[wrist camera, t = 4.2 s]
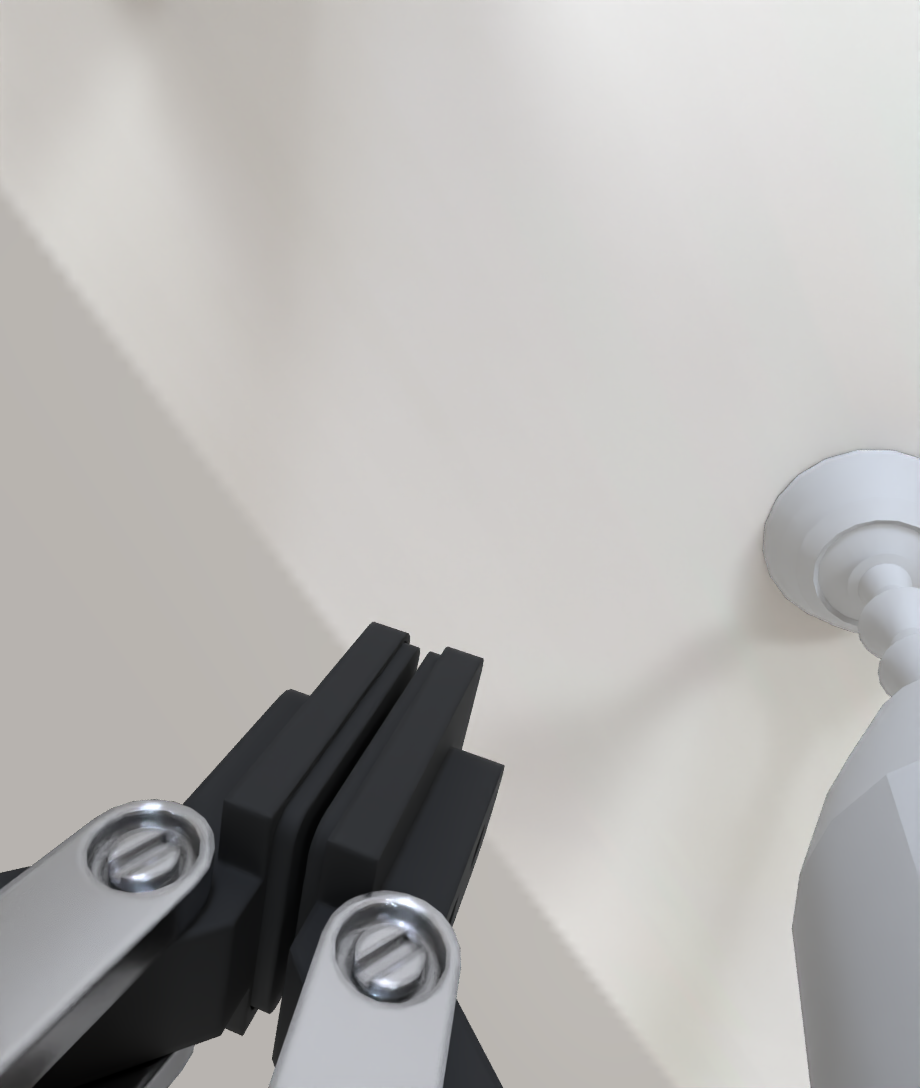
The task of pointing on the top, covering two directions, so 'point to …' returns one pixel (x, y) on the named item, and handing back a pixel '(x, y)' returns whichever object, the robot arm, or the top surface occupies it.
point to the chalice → (861, 770)
